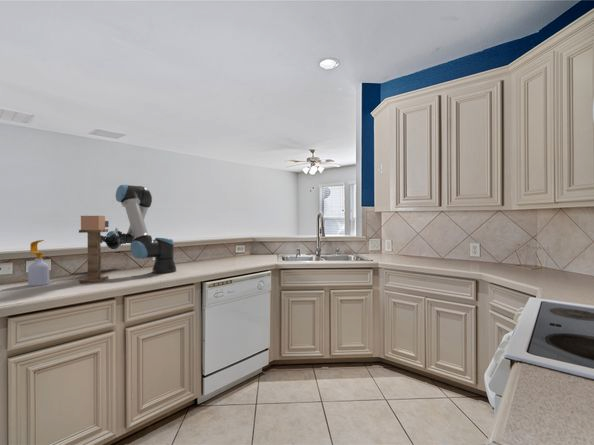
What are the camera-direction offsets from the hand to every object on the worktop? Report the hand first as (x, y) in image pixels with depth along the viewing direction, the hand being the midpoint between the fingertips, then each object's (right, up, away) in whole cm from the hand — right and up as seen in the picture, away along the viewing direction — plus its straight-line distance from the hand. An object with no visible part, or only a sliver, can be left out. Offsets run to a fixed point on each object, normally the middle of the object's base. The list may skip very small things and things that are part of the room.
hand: (104, 229), depth 203 cm
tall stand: (+5, -29, -17) cm, 34 cm away
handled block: (+3, +1, -11) cm, 12 cm away
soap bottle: (-20, -30, -27) cm, 45 cm away
